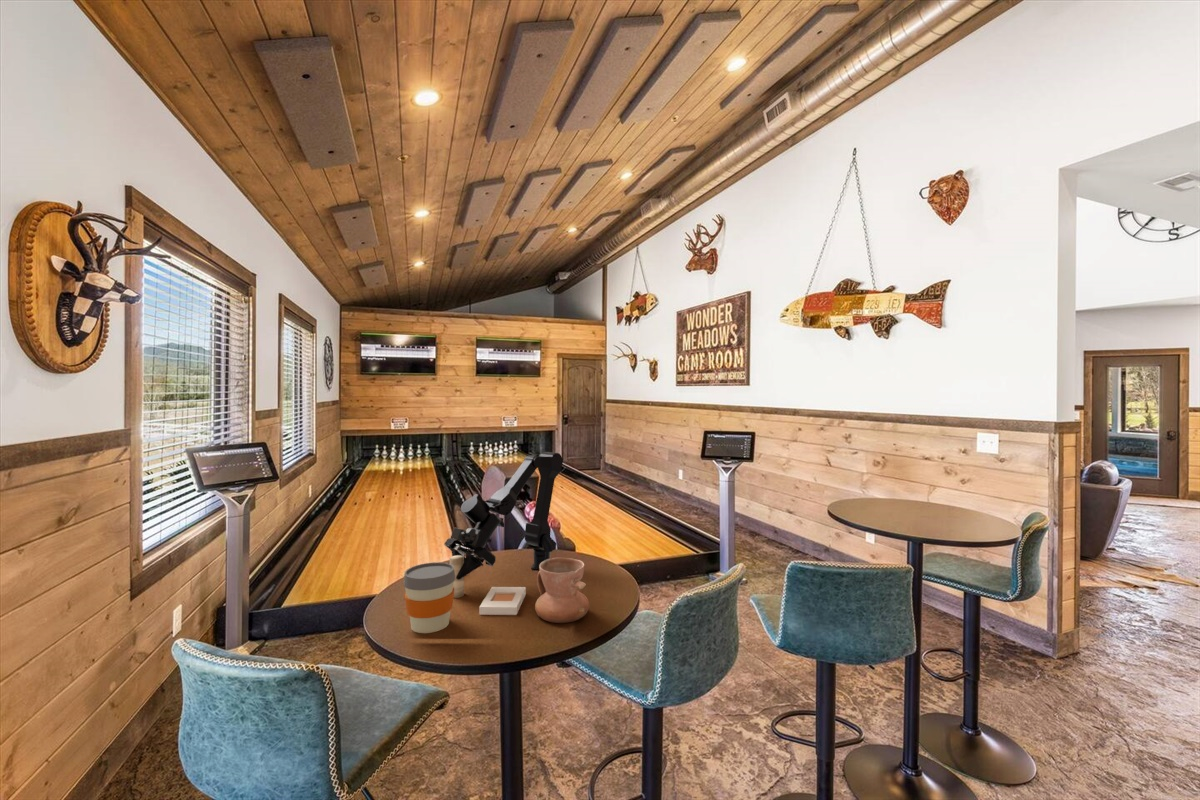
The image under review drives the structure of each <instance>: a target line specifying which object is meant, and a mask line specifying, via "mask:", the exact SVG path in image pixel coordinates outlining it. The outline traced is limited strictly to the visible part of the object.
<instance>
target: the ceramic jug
mask: <svg viewBox="0 0 1200 800" xmlns="http://www.w3.org/2000/svg"><path fill="white" fill-rule="evenodd" d="M538 570H539V571H538V573H537V576H536V584H537V588H538V590H539V594H540V596H539V597H538V598H537V600H536V601H535V605H534V609H535V612H536V614H537V616H538V617H539V618H540V619H542V620H543V621H545V622H547V623H548V622H549V623H553V624H569V623H573V622H576V621H579V620H580V619H582V618H584V617H585V616H586V614H587V613H588V611H589V609H590V602H589V599H588V598H587V596H586V595H585V594H584V593H582V592H580V591H579V590H578V589H580V590H582V589H584V587H585V586H586V585H587V584H586V583H585V582H583V581H582V578H583V576H584V572H585V563H584V562H583V560H580V559H575V558H570V557H553V558H550V559H547V560H544V561H543V562H541V563H540V565H539V569H538Z"/></svg>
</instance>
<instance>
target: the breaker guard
mask: <svg viewBox="0 0 1200 800" xmlns="http://www.w3.org/2000/svg"><path fill="white" fill-rule="evenodd" d="M526 594H527V587H526V586H491V588H490V589H489V590H488V592H487V594H486V595H485V597H484V599H483V600H482V601H481V604H480V605H479V608H478V610H479V613H478V615H480V616H481V615H482V616H488V615H489V616H494V615H495V616H497V615H498V616H517V614H518V613H519V610H520V609H521V605H522V603H523V602H524V599H525V597H526ZM496 595H515V596H514V598H513V600H512V601H493V599H494V598H495V596H496Z"/></svg>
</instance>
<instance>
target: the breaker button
mask: <svg viewBox="0 0 1200 800" xmlns="http://www.w3.org/2000/svg"><path fill="white" fill-rule="evenodd" d="M514 596H515V595H496V596H495V598H494V599H493V601H512V600H513V598H514Z"/></svg>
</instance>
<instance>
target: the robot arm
mask: <svg viewBox="0 0 1200 800" xmlns="http://www.w3.org/2000/svg"><path fill="white" fill-rule="evenodd" d="M563 463H564V458H563V457H562V455H561V454H560V453H559V452H552V451H543V452H542V453H541V454H534V455H533V454H532V455H526V456H525V457H524V460H523V462H522V463H521V464H520V466H519V467H518V468H517V470H516V471H515V473H513V475H512V476H511V477H510V479H509V480H508V482H507V483H506V484H505V485H504V487H501V488H500V489H498V490H496V491H495V492H494V493H493V494H492V495H491V496H490V497H489V499H487V500H484V499H483V498H482V496H481V495H480V494H478V493H474V494H473V495H472V496H470V497H469V498H468V499H466V500H465V501H463V503H462V504H461V506H460V511H461V512H462V513H463V514H464V515H465V516H466V517H467V518H468V519H470V521H472V523H474V524H475V523H476V525H475V526H474V527H467V529H466V530H465V529H462V528H458V527H455V526H454V527H453V529H452V532H451V535H450V537H449V538H447V539H446V541H445V542H444V544H443V545H444V546H445V547H447V548H448V550H449V551H450V552H451V557H452V556H457V555H461V556H464V564H463V566H462V567H461V569H460V571H459V573H458V575H457V577H456V579H458V580H460V579H461V578H463V577H464V578H465V576H467V575H469V574H471V573H472V572H474V571H475V570H476V569H478V568H480V567H483V566H484V561H485V565H487V566H489V567H494V565H495V563H496V561H497V557H496V555H494V554H493V553H492V552H491V551H490V550H489V549H488V548H485V546H486V545H487V543H488V544H491V542H492V539H491V538H492V536H493V534H494V533H495V531H496V529H497V528H498V527H500V528H505V522H504V518H503V517H499V516H500V515H501V516H509V515H510V514H511V513H512V511H513V510H514V507H515V506H516V504H517V500H518V495H519V494H520V492H521V491H522V489H523V488H524V487H525V485H526V484H527V482H528V481H529V480H530V478H531V477H532V475H533V474H534V473H535V471H538V473H539V477H540V478H539V484H538V490H537V497H536V501H535V508H534V513H533V517H532V519H531V521H530V522H526V523H525V529H524V533H523V536H524V541H525V542H526V544H527V547H528V549H532V551H533V563H532V566H531V570H540V569H539V565H540V563H541V562H543V561H544V560H547V559H551V553H552V552H553V551H555V550H556V547H557V543H556V541H555V540H554V539H553V538H552V537H551V526H550V524H549V515H550V510H551V503H552V497H553V491H554V486H555V479H556V478H557V476H558V475H559V474H560V473H561V470H562V466H563ZM498 515H499V516H498Z"/></svg>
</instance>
